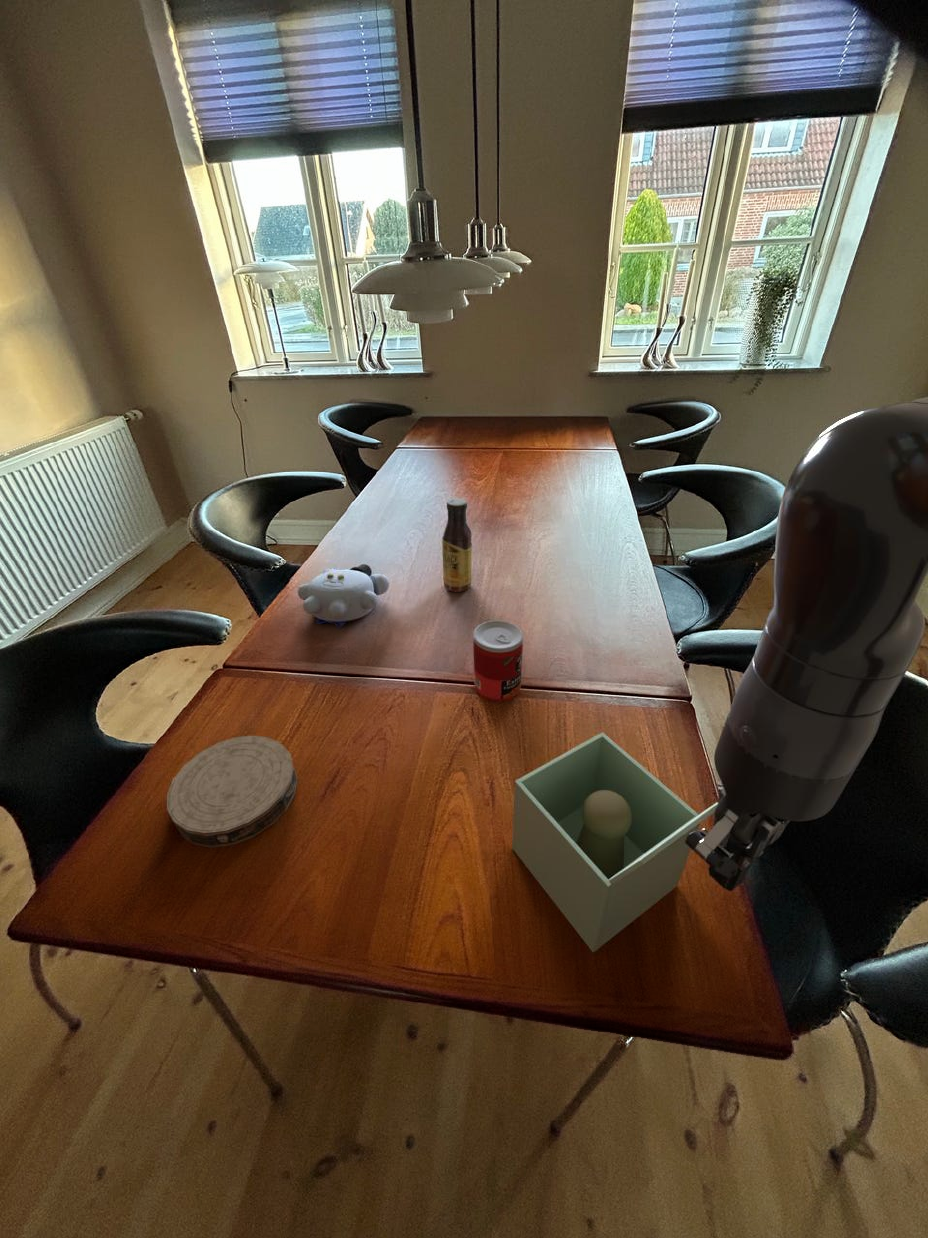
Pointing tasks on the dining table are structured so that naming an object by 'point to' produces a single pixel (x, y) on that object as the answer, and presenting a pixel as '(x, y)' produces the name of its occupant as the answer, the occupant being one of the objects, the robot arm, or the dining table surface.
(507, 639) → the canned food
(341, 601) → the figurine
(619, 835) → the olive brown pawn
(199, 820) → the grey flat disc
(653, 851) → the flap
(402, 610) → the dining table surface
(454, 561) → the sauce bottle
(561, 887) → the carton
